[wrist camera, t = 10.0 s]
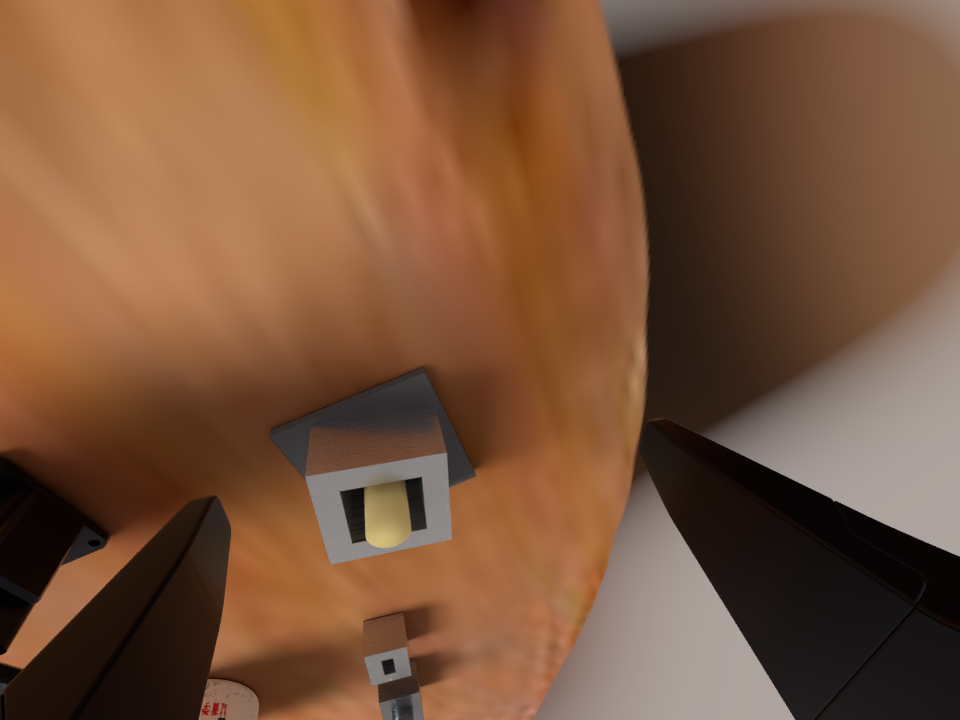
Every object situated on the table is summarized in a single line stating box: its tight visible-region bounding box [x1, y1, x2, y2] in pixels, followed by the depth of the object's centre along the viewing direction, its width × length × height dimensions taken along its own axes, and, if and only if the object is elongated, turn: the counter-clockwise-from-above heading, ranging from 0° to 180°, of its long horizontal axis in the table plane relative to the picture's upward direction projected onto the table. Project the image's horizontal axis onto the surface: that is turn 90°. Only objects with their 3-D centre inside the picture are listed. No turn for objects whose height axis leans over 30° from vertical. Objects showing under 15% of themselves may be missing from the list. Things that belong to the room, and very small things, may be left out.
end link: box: [305, 406, 452, 564], centre depth 22 cm, size 6×6×4 cm
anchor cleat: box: [378, 659, 424, 720], centre depth 35 cm, size 5×3×5 cm, turn 1°
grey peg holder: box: [269, 367, 476, 548], centre depth 22 cm, size 8×8×5 cm
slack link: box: [363, 612, 412, 686], centre depth 32 cm, size 4×3×2 cm
